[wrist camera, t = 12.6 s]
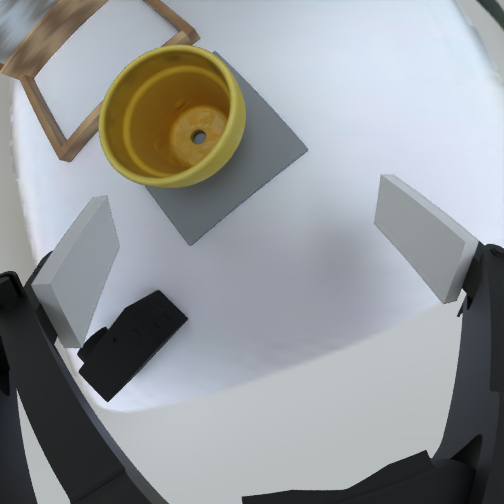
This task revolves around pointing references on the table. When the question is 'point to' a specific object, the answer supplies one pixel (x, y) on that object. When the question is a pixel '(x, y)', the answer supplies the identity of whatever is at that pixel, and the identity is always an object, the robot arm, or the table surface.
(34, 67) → the cold frame
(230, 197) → the mat
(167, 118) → the plant pot
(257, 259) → the table surface
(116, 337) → the digital camera
